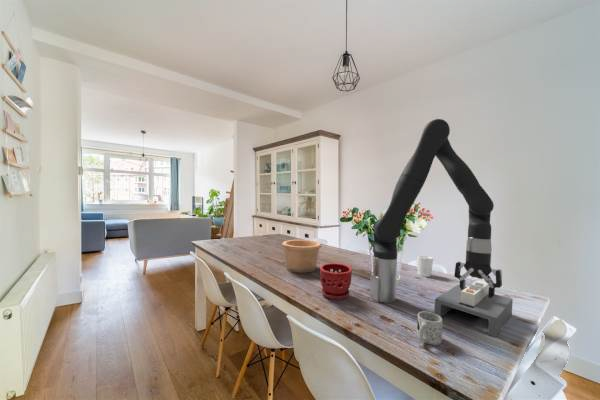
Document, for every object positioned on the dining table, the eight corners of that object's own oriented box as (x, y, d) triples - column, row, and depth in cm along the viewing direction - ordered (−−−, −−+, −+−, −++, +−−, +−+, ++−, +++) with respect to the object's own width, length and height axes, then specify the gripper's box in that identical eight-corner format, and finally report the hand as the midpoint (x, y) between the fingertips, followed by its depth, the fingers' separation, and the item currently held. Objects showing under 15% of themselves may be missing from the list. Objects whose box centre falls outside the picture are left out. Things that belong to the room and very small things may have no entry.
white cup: (413, 272, 144) (414, 255, 143) (426, 272, 144) (427, 255, 144) (421, 277, 136) (422, 258, 135) (435, 277, 136) (436, 258, 136)
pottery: (321, 275, 134) (322, 247, 134) (279, 273, 135) (280, 246, 134) (319, 263, 156) (320, 240, 156) (283, 262, 156) (283, 239, 156)
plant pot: (315, 290, 113) (316, 263, 112) (344, 289, 115) (344, 262, 115) (324, 303, 100) (325, 272, 100) (356, 301, 103) (357, 271, 102)
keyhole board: (495, 337, 79) (496, 318, 79) (434, 315, 92) (434, 298, 92) (511, 314, 95) (512, 298, 95) (457, 298, 108) (457, 284, 108)
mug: (422, 330, 82) (422, 309, 82) (444, 339, 77) (445, 317, 77) (408, 341, 75) (409, 319, 75) (432, 352, 70) (433, 328, 70)
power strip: (473, 314, 87) (474, 293, 87) (460, 310, 90) (461, 289, 90) (489, 299, 100) (490, 281, 100) (477, 296, 103) (477, 278, 103)
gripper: (453, 247, 97) (451, 290, 98) (500, 255, 87) (497, 303, 87) (460, 245, 102) (458, 286, 103) (505, 252, 91) (502, 297, 92)
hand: (476, 293), depth 95 cm, fingers open, 8 cm apart
